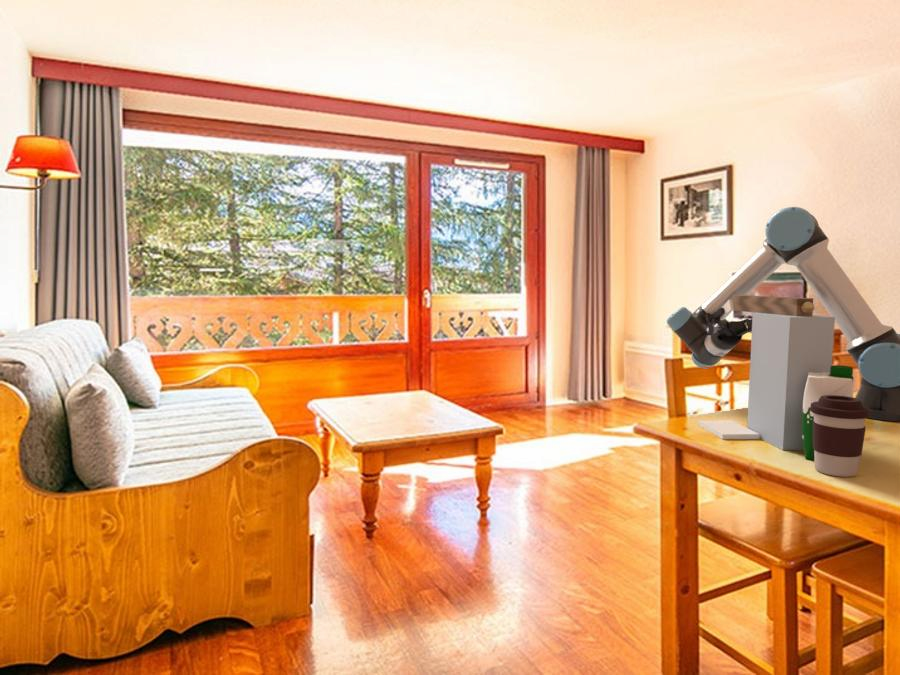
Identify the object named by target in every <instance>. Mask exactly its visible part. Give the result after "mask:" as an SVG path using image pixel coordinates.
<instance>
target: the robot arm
mask: <svg viewBox="0 0 900 675" xmlns="http://www.w3.org/2000/svg"><path fill="white" fill-rule="evenodd" d="M764 231H765V236H766V238H765V240H763V244H762V247H761V248H760V249H759V250H758V251H757V252H756V253H755V254H754V255H752V256H751V257H750V259H749V260H747V261H746V263H744V264H743V265H742V266H741V267H740V268H739V269H738V270H737V271H735V273H734V274H733V275H731V277H730V278H728V279H727V280H726V281H725V282H724V283H723V284H722V285H721V286H720V287H719V288H718V289H716V290H715V291H714V293H712V295H710V296H709V297H708V298H706V300H705V301H704V302H703V303H702V304H701V305H700V306H698V308H696V309H695V310H694V312H692V311H690V310H689V308H687V307H684V306H683V307H680V308H678V309H677V310H675V311H674V312H673V313H672V314H671V315H669V316H668V318H667V320H666V324H667V326H669V328H670V330H671V331H672V332H674V333H675V335H677V336H678V338H679V339H680V340H681V341H682V342H683V343H684V344H685V345H686V347H688V349H689V350H690V351H691V360H692V362H693V364H694V365H695V366H697V367H698V368H700V367H707V366H712V367H714V366H715V365H716V364H718V363H719V362H720V361H721V360H722V359H723V358H724V357H725V356H726V355H727V354H728V353H730V351H732V350H733V349H734V348H735V347H736V346H737V345H738V344H740V342H741V340H742V339H743V336H744V335H746V334H747V333H751V334H752V318H750V319H749V318H745V319H743V320H737V321H735V320H731V321H729V320H727V319H726V318H727V317H728V316H729V315H730V314H731V313H732V312H733V311H734V310H733V309H734V307H733V295H751V293H752V292H753V291H754V290H756V289H757V287H759V286H760V285H761V284H763V283H764V281H766V280H767V279H768V278H769V277H770V276H771V275H772V274H773V273H774V272H775V271H777V270H778V269H779V268H780V267H781V266H782V265H785V264H786V265H788V266H793V267H796V269H797V270H798V272H799V273H800V274H801V276H802V277H803V279H804V280H805V281H806V283H807V285H808V286H809V288H810V289H811V290H812V291H813V293H814V294H815V296H816V298H818V299H819V302H820V303H821V304H822V306H823V307H824V308H825V310H826V312H827V313H828V314H829V317H835V324H836V326H837V327H838V329H839V330H840V332H841V333H842V334H843V336H844V338H845V339H846V340H847V345H846V348H845V350H846V351H847V353H848V354H849V355H850V357H851V359H852V360H853V361H854V363H855V364H856V366H857V369H858V372H859V374H860V386H859V389H858V390H857V392H856V395H855V396H854V398H857V399H859V400H861V402H862V405H863V406H865V407H867V408H869V409H870V416H869V418H868V419H871V420H872V419H873V420H879V421H887V422H900V333H897V331H896V330H895V328H893V326H890V325H885V324H883V323H882V322H881V321H880V319H879V318H878V317H877V315H876V314H875V313H874V312H873V309H872V308H871V307H870V306H869V304H868V303H867V301H866V300H865V299H864V297H863V296H862V295H861V293H860V292H859V290H858V289H857V288H856V286H855V285H854V283H853V281H851V279H850V278H849V276H848V275H847V274H846V273H845V271H844V270H843V268H842V267H841V266H840V264H839V263H838V261H837V260H836V259H835V257H834V256H833V254H832V253H831V251H830V250H829V249H828V245H829V242H830V239H829V237H828V236H827V235H826V233H825V232H824V231H823V229H822V228H821V227H820V225H819V222H818V219H817V218H816V217H815V216H814V215H813V214H811V213H810V212H809V210H806V209H805V208H803V207H799V206H789V207H784V208H781V209H780V210H778V211H775V213H773V214H772V215H771V216H770V217H769V219H768V220H767V223H766V225H765V230H764Z"/></svg>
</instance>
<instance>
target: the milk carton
mask: <svg viewBox="0 0 900 675" xmlns="http://www.w3.org/2000/svg"><path fill="white" fill-rule="evenodd" d="M853 370H854V367H853V366H848V365H841V364H837V365H836V364H835V365H834V364H832V366H831V367H830V373H825V372H822V373H813V372H808V376H807V381H806V385H805V390H804V397H803V410H802V439H803V445H804V450H803V451H804V456H805V460H811V461H815V459H814V449H813V420H814V413H813V412H811V410H810V408H811V403H813V402H818V400H819V398H820V397H821V396H825V395H837V396H847V397H853V398H854V375H853V372H854V371H853Z"/></svg>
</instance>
